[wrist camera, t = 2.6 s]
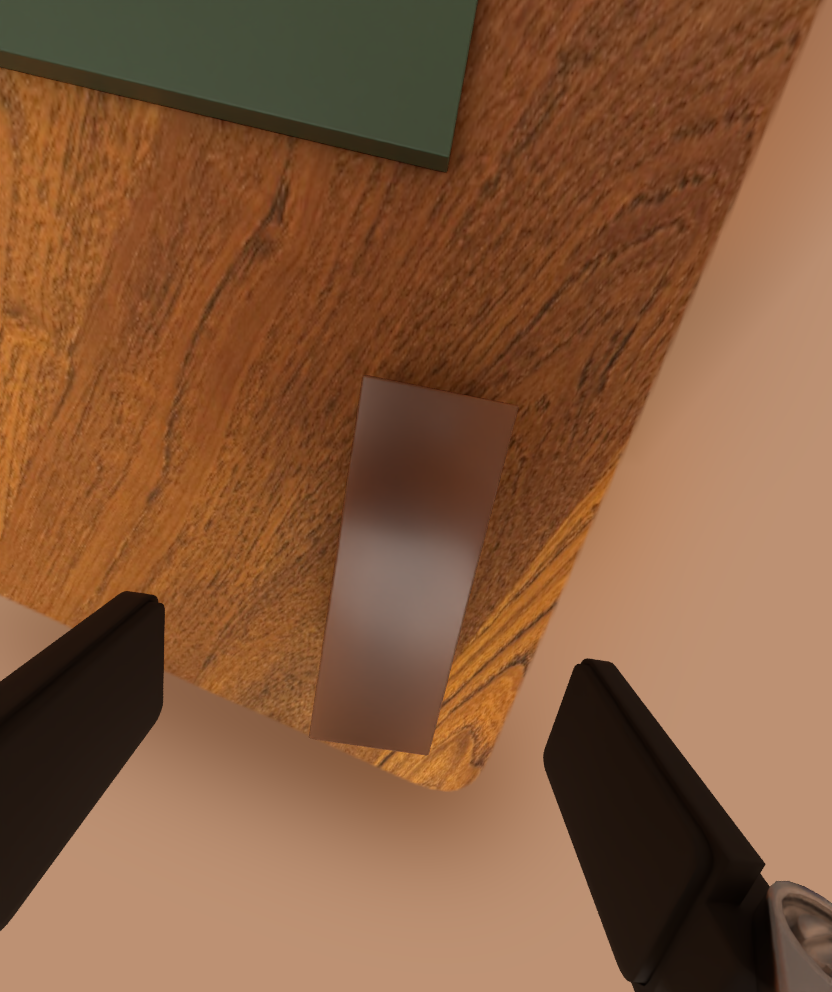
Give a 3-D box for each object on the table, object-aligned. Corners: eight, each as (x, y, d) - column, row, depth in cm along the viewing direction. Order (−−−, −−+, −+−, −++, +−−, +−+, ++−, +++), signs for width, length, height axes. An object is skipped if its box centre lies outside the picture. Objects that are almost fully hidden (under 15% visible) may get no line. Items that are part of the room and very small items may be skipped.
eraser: (484, 399, 16) (519, 405, 11) (424, 657, 20) (428, 756, 14) (378, 378, 16) (362, 374, 11) (336, 643, 19) (308, 739, 14)
